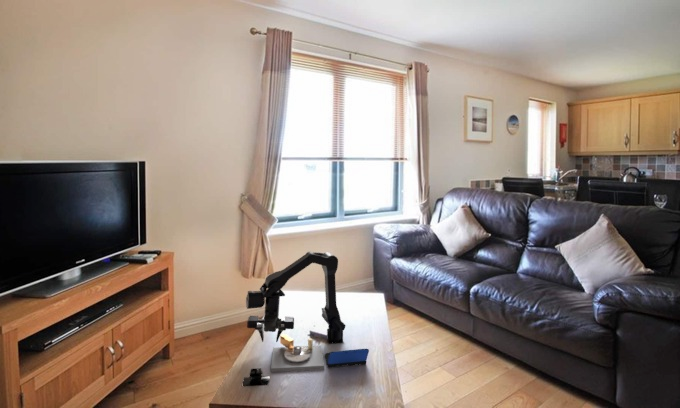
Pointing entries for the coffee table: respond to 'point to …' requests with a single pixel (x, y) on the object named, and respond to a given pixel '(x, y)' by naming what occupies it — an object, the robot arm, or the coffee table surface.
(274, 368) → the base plate
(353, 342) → the coffee table surface
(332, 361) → the handheld game console
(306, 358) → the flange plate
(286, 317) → the robot arm
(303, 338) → the coffee table surface
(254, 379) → the black angular piece
